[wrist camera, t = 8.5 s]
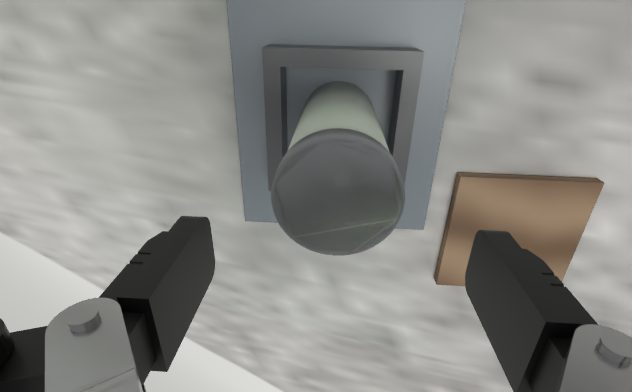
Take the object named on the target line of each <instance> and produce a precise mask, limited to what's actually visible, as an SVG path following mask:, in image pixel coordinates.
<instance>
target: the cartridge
mask: <svg viewBox="0 0 632 392" xmlns="http://www.w3.org/2000/svg"><path fill="white" fill-rule="evenodd" d="M271 203H272V208H273V212H274V215H275V217H276V219H277V221H278V223H279V225H280V226H281V228H282V229H283V230H284V232H285V233H286V234H287V235H288V236H289V237H290V238H291V239H293V240H294V241H295V242H296V243H298V244H300V245H301V246H303V247H305V248H307V249H309V250H312V251H315V252H318V253H322V254H326V255H350V254H355V253H359V252H362V251H365V250H367V249H370V248H372V247H374V246H375V245H377V244H379V243H380V242H381V241H383V240H384V239H385V238H386V237H387V236H388V235H389V234H390V233H391V232H392V231H393V230H394V228H395V227H396V225H397V224H398V222H399V220H400V218H401V215H402V213H403V209H404V205H405V188H404V183H403V180H402V177H401V174H400V172H399V169H398V166H397V164H396V162H395V160H394V158H393V156H392V155H391V154H390V152H389V149H388V146H387V144H386V141H385V138H384V135H383V132H382V130H381V127H380V124H379V121H378V119H377V116H376V113H375V110H374V107H373V105H372V102H371V100H370V98H369V97H368V95H367V94H366V93H365V92H364V91H363V90H362V89H361V88H359V87H358V86H356V85H354V84H352V83H348V82H343V81H335V82H330V83H327V84H324V85H322V86H321V87H319V88H317V89H316V90H315V91H314V92H313V93H312V94H311V95H310V97H309V98H308V100H307V102H306V104H305V107H304V110H303V112H302V115H301V117H300V120H299V122H298V125H297V128H296V130H295V133H294V135H293V138H292V140H291V143H290V146H289V148H288V151H287V153H286V154H285V155H284V157H283V158H282V160H281V162H280V164H279V167H278V169H277V172H276V174H275V177H274V180H273V183H272V189H271Z"/></svg>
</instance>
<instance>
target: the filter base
mask: <svg viewBox="0 0 632 392" xmlns="http://www.w3.org/2000/svg"><path fill="white" fill-rule="evenodd" d="M465 5H466V0H227V10H228V22H229V34H230V46H231V58H232V70H233V82H234V95H235V107H236V119H237V131H238V143H239V155H240V167H241V179H242V191H243V203H244V215H245V221H255V222H275V223H278V221H277V219H276V217H275V215H274V212H273V208H272V203H271V189H272V183H273V180H274V177H275V174H276V172H277V169H278V167H279V164H280V162H281V160H282V158H283V157H284V155H285V154H286V153H287V151H288V148H289V146H290V143H291V140H292V138H293V135H294V133H295V130H296V128H297V125H298V122H299V120H300V117H301V115H302V112H303V110H304V107H305V104H306V102H307V100H308V98H309V97H310V95H311V94H312V93H313V92H314V91H315V90H316V89H317V88H319V87H321V86H322V85H324V84H327V83H330V82H335V81H343V82H348V83H352V84H354V85H356V86H358V87H359V88H361V89H362V90H363V91H364V92H365V93H366V94H367V95H368V97H369V98H370V100H371V102H372V105H373V107H374V110H375V113H376V116H377V119H378V121H379V124H380V127H381V130H382V132H383V135H384V138H385V141H386V144H387V146H388V149H389V152H390V154H391V155H392V156H393V158H394V160H395V162H396V164H397V166H398V169H399V172H400V174H401V177H402V180H403V183H404V188H405V205H404V209H403V213H402V215H401V218H400V220H399V222H398V224H397V225H396V227H395V228H398V229H418V230H424V224H425V219H426V213H427V208H428V203H429V197H430V192H431V187H432V181H433V176H434V171H435V165H436V160H437V155H438V149H439V144H440V139H441V133H442V128H443V123H444V117H445V112H446V107H447V101H448V96H449V91H450V85H451V80H452V75H453V69H454V64H455V58H456V53H457V48H458V42H459V37H460V32H461V26H462V21H463V16H464V10H465Z"/></svg>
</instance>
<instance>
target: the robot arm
mask: <svg viewBox="0 0 632 392" xmlns="http://www.w3.org/2000/svg"><path fill="white" fill-rule="evenodd" d="M214 269H215V256H214V249H213V241H212V234H211V227H210V221H209V219H208V218H207V217H193V216H181V217H180V218H179V219H178V220H177V222H176V223H175V224H174V225H173V227H172V228H171V229H170V230H169V232H165V231H163V232H161V233H159V234H158V235H156V236H155V237H153V238H151V239H150V240H148V241H147V242H146V243H145V244H144V246H143V247H142V248H141V249H140V250H139V251H138V254H136V255H135V256H134V257H133V258H132V260H131V261H130V264H127V265H126V267H125V268H124V269H123V270H122V271H121V272H120V274H119V275H118V276H117V277H116V278H115V279H114V281H113V282H112V283H111V284H110V285H109V286H108V287H107V289H106V290H105V291H104V292H103V293H102V294H101V296H100V297H99V298H93V299H88V300H85V301H81V302H79V303H76V304H74V305H72V306H70V307H68V308H67V309H65V310H64V311H62V312H60V313H59V314H58V315H57V316H56V317H54V319H53V320H52V321H51V322H50V323H49V325H48V326H45V327H39V328H34V329H28V330H23V331H17V332H12V333H9V331H8V329H7V327H6V325H5V324H4V322H3V321H2V320H1V319H0V392H146V389H145V386H144V382H145V380H146V378H147V376H148V374H149V372H150V371H164V372H167V371H168V369H169V367H170V365H171V363H172V361H173V359H174V357H175V355H176V352H177V351H178V348H179V346H180V344H181V342H182V340H183V338H184V336H185V334H186V332H187V330H188V328H189V326H190V324H191V322H192V320H193V318H194V315H195V313H196V311H197V309H198V307H199V305H200V303H201V301H202V299H203V297H204V295H205V293H206V291H207V289H208V287H209V285H210V282H211V280H212V278H213V275H214ZM563 285H564V284H563V283H562V282H561V281H560V279H559V278H558V277H557V276H554V272H553V271H552V270H551V269H550V268H549V266H548V265H547V264H546V263H545V262H544V261H543V260H542V259H541V258H539V257H538V256H536V255H535V254H533V253H532V252H530V251H529V250H527V249H522V248H521V247H520V246H519V244H518V243H517V242H516V241H515V239H514V238H513V237H512V236H511V234H510V233H509V232H507V231H496V230H479V231H477V233H476V235H475V238H474V241H473V245H472V249H471V253H470V257H469V261H468V265H467V268H466V273H465V286H466V291H467V294H468V296H469V298H470V300H471V302H472V304H473V307H474V309H475V311H476V313H477V315H478V317H479V319H480V321H481V324H482V326H483V328H484V330H485V332H486V334H487V336H488V338H489V341H490V343H491V345H492V347H493V349H494V351H495V353H496V355H497V358H498V360H499V362H500V364H501V366H502V368H503V370H504V372H505V374H506V377H507V379H508V381H509V383H510V385H511V387H512V389H513V391H514V392H632V338H631V337H629V336H628V335H626V334H624V333H622V332H620V331H617V330H615V329H612V328H609V327H605V326H601V325H598V324H597V323H596V322H595V320H594V319H593V318H592V317H591V316H590V315H589V313H588V312H587V311H586V310H585V309H584V308H583V306H582V305H581V304H580V303H579V302H578V300H577V299H576V298H575V297H574V296H573V295H572V293H571V292H570V291H569V290H568V289H567V288H566V287H564V286H563Z"/></svg>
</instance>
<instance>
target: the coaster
mask: <svg viewBox="0 0 632 392" xmlns="http://www.w3.org/2000/svg"><path fill="white" fill-rule="evenodd" d="M603 185H604V182H602V181H601V180H599V179H597V178H579V177H555V176H532V175H508V174H484V173H460V172H458V173H457V177H456V182H455V186H454V191H453V195H452V200H451V205H450V209H449V214H448V218H447V223H446V227H445V232H444V236H443V241H442V245H441V250H440V255H439V259H438V264H437V268H436V273H435V277H434V279H435V282H436V284H437V285H455V286H465V273H466V268H467V265H468V261H469V257H470V253H471V249H472V245H473V241H474V238H475V235H476V233H477V231H479V230H496V231H507V232H509V233H510V234H511V236H512V237H513V238H514V239H515V241H516V242H517V243H518V244H519V246H520V247H521V248H522V249H527V250H529V251H530V252H532V253H533V254H535V255H536V256H538V257H539V258H541V259H542V260H543V261H544V262H545V263H546V264H547V265H548V266H549V268H550V269H551V270H552V271H553V272H554V276H557V277H558V278H559V279H560V281H561V282H562V280H563V278H564V275H565V273H566V271H567V268H568V266H569V264H570V261H571V259H572V257H573V254H574V252H575V250H576V247H577V245H578V243H579V241H580V238H581V236H582V234H583V231H584V229H585V227H586V224H587V222H588V220H589V217H590V215H591V213H592V210H593V208H594V206H595V203H596V201H597V199H598V196H599V194H600V192H601V190H602V187H603Z"/></svg>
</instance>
